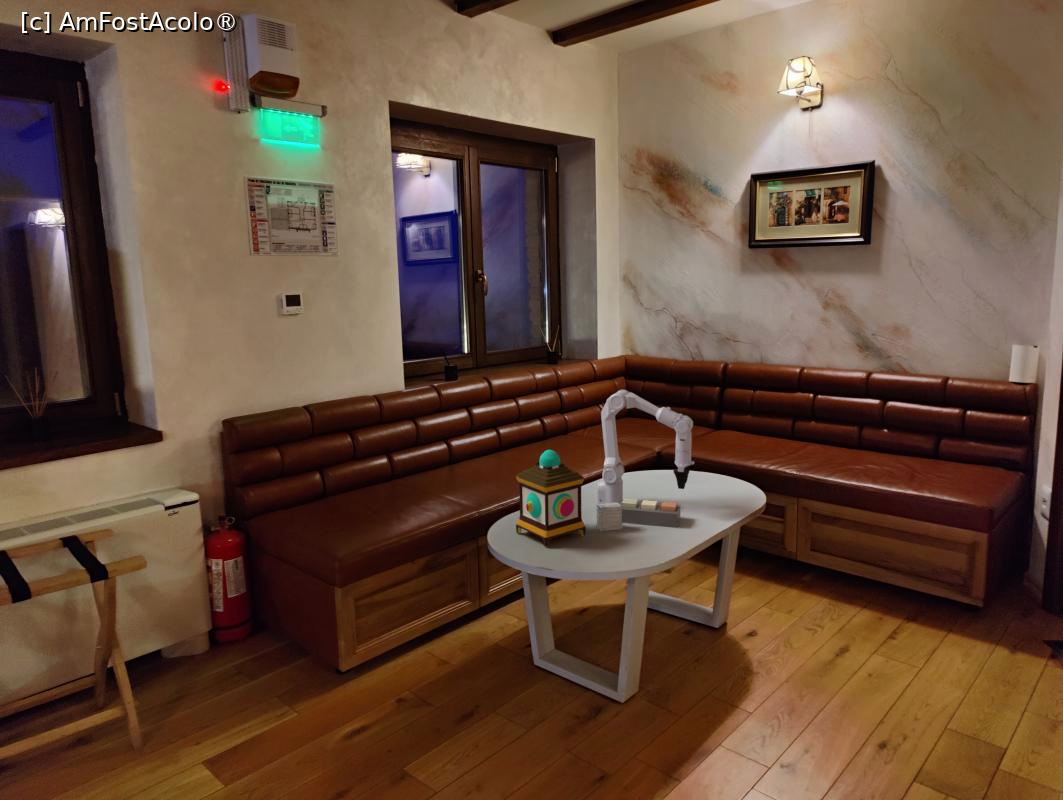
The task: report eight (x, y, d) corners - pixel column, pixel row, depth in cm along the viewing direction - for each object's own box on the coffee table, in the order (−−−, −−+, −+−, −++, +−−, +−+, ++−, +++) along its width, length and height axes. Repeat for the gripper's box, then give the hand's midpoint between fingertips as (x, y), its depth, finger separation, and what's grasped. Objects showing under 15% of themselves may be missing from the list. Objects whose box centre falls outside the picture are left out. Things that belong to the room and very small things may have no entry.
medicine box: (617, 525, 259) (617, 502, 258) (622, 529, 255) (622, 506, 253) (596, 527, 258) (596, 503, 256) (600, 532, 253) (600, 508, 252)
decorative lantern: (510, 533, 254) (508, 448, 248) (555, 520, 265) (554, 439, 260) (545, 550, 238) (544, 461, 232) (591, 536, 249) (591, 450, 244)
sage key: (621, 510, 264) (621, 502, 263) (624, 506, 268) (624, 498, 268) (635, 511, 262) (635, 503, 262) (637, 507, 267) (637, 499, 266)
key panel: (617, 522, 262) (617, 508, 261) (622, 513, 272) (622, 500, 271) (676, 527, 256) (677, 513, 255) (680, 518, 265) (680, 504, 264)
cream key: (641, 512, 261) (641, 504, 261) (643, 507, 266) (643, 500, 266) (655, 513, 260) (655, 505, 259) (657, 508, 265) (657, 501, 264)
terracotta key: (660, 513, 259) (660, 506, 259) (662, 509, 264) (662, 501, 263) (675, 515, 258) (675, 507, 257) (676, 510, 262) (677, 502, 262)
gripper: (692, 455, 260) (691, 492, 262) (696, 445, 273) (695, 480, 276) (672, 454, 262) (671, 490, 264) (677, 444, 275) (676, 479, 278)
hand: (682, 485), depth 270 cm, fingers open, 7 cm apart
